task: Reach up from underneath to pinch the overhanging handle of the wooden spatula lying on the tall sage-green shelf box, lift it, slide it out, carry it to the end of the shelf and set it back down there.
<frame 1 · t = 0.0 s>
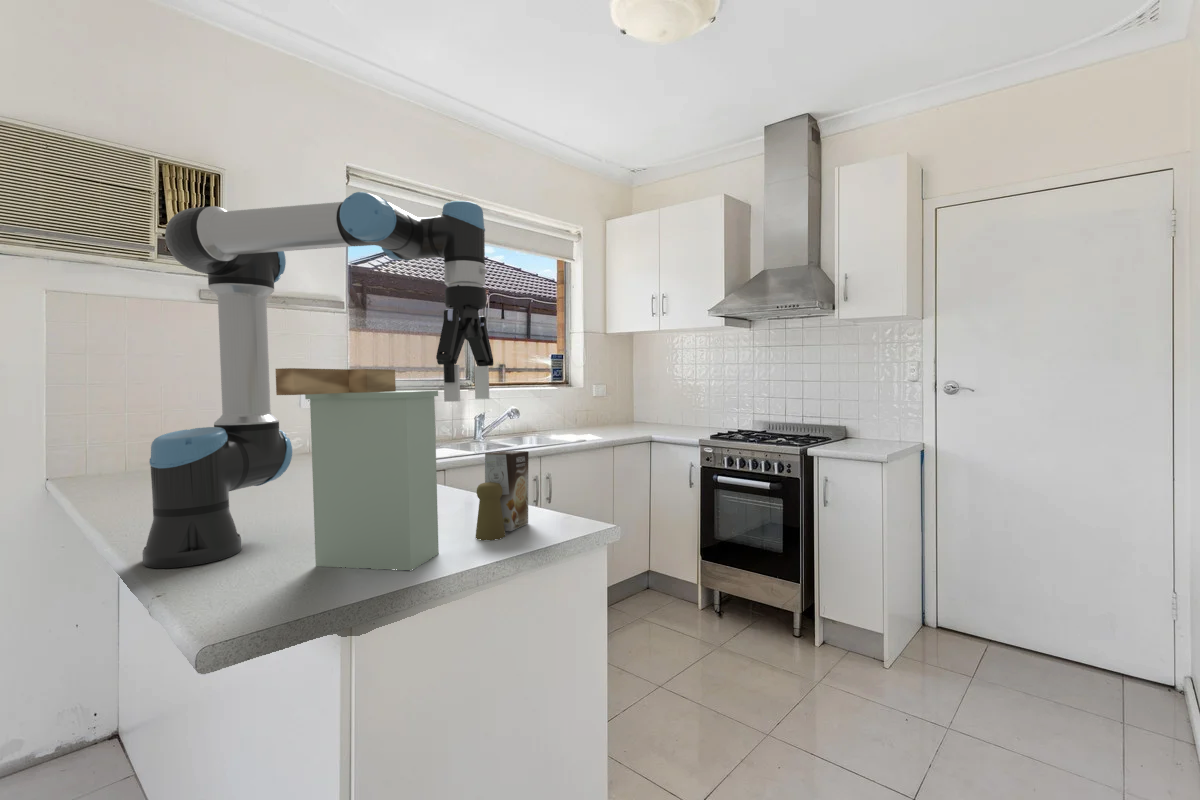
hand: (468, 400, 112), 28 cm above the countertop, tool pointing down, fingers open, 13 cm apart
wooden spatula: (335, 392, 101), point 30 cm above the countertop, touching sage green shelf box
cork: (490, 537, 121), on the countertop, touching coffee box
coffee box: (507, 527, 127), on the countertop, touching cork
sage green shelf box: (379, 559, 106), on the countertop
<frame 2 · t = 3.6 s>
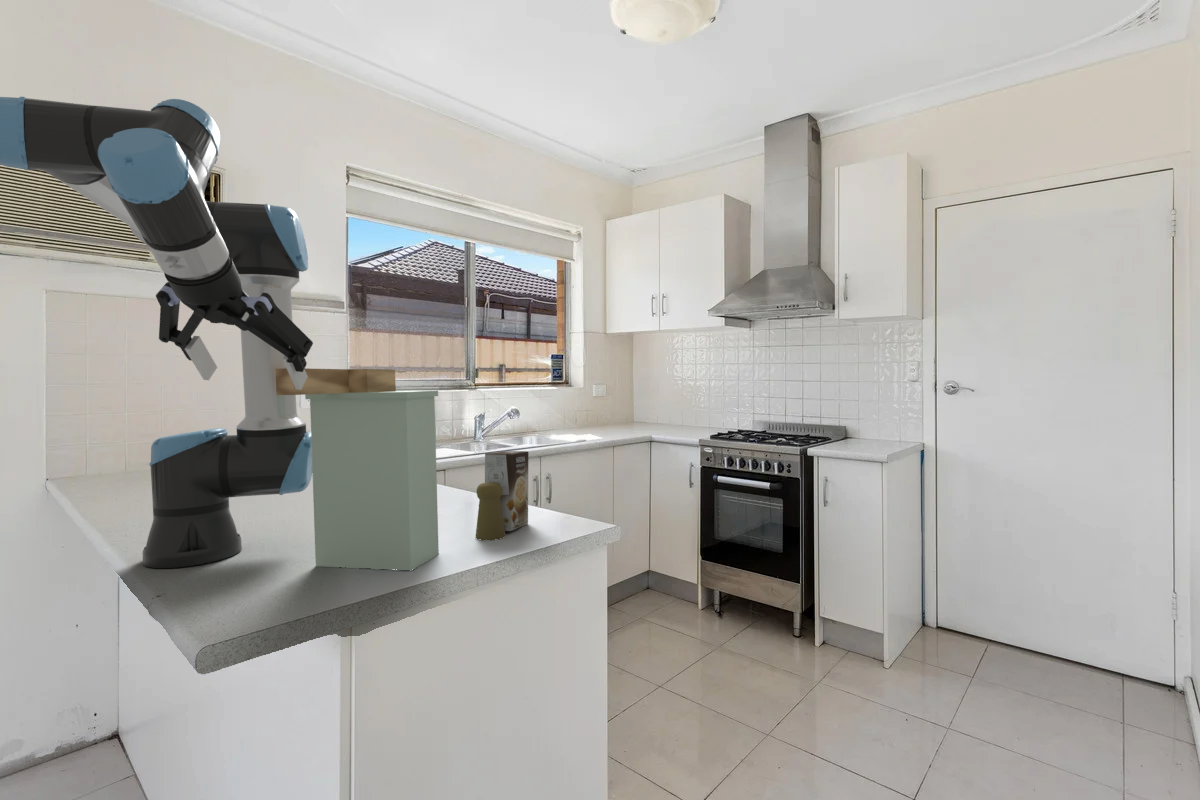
hand: (256, 378, 90), 33 cm above the countertop, tool tilted 50°, fingers open, 13 cm apart
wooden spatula: (335, 392, 101), point 30 cm above the countertop, touching gripper
everything else where it was.
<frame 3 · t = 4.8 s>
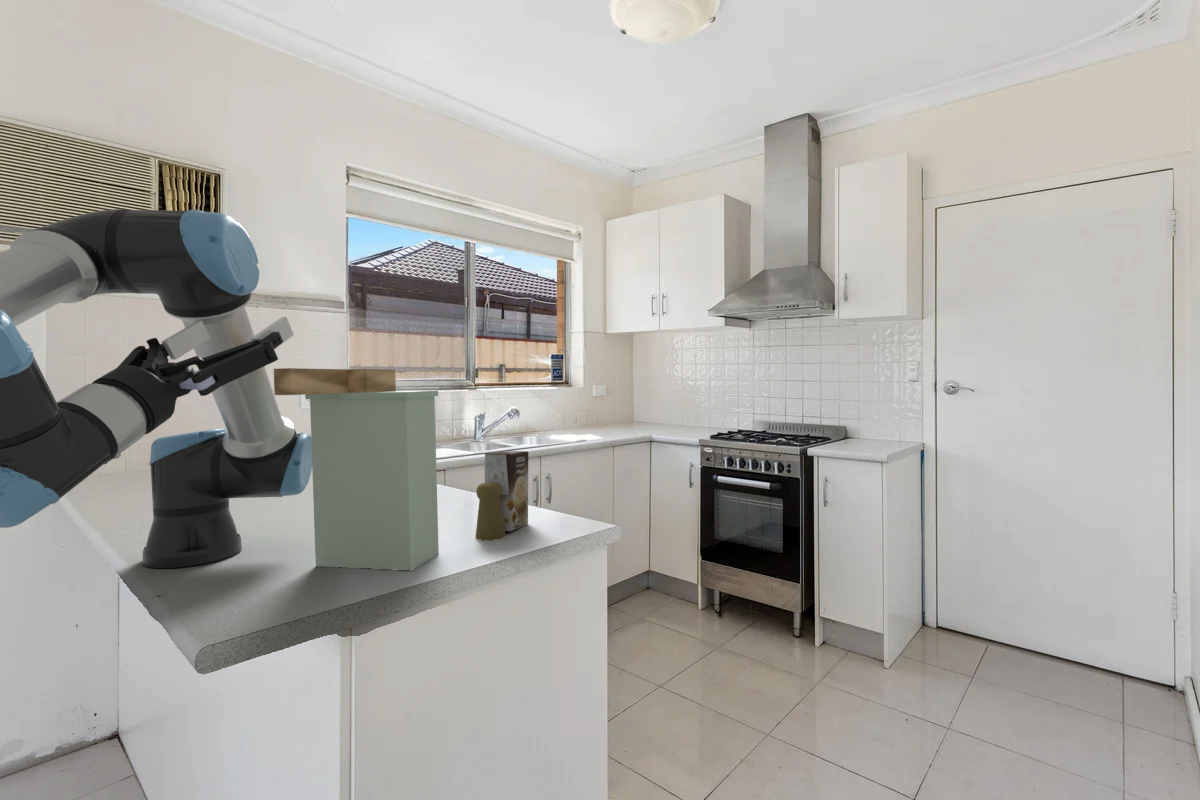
hand: (245, 327, 83), 40 cm above the countertop, tool pointing upward, fingers open, 13 cm apart
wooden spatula: (335, 392, 101), point 30 cm above the countertop, touching sage green shelf box
everything else where it was.
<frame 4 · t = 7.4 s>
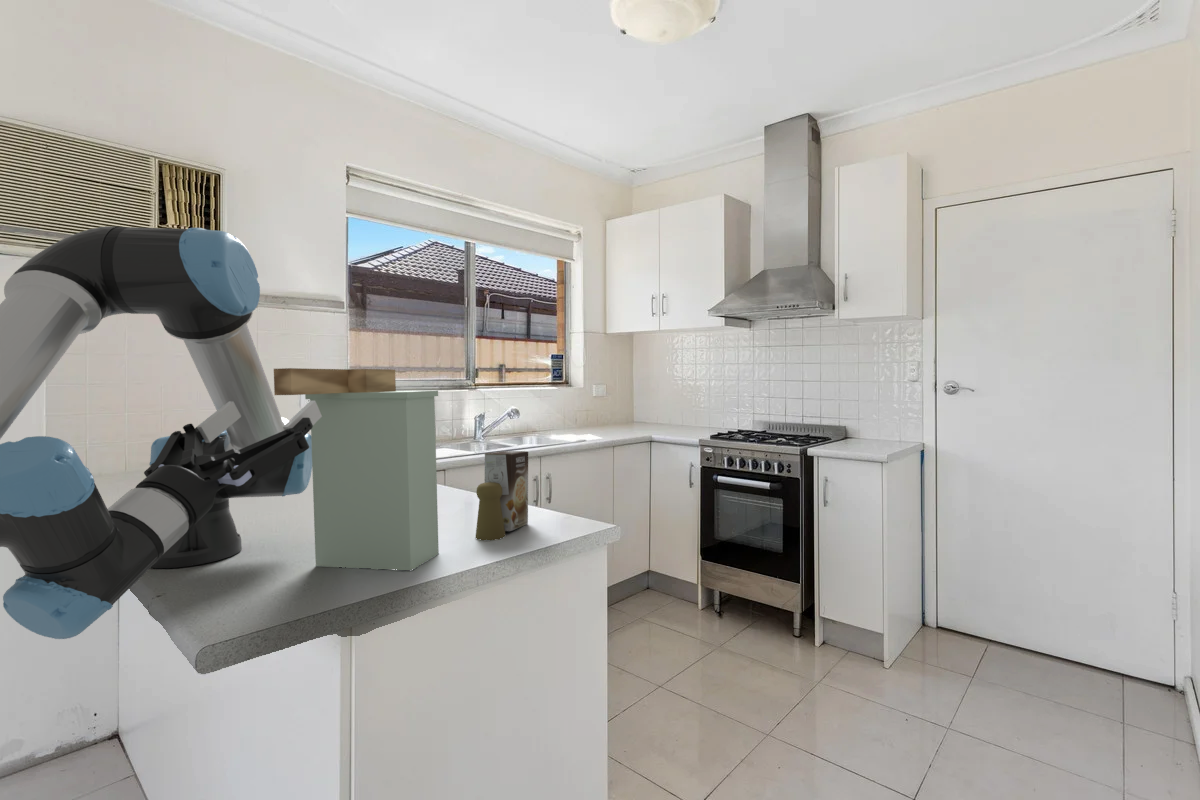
hand: (275, 408, 86), 28 cm above the countertop, tool pointing upward, fingers open, 13 cm apart
nothing on the countertop moved.
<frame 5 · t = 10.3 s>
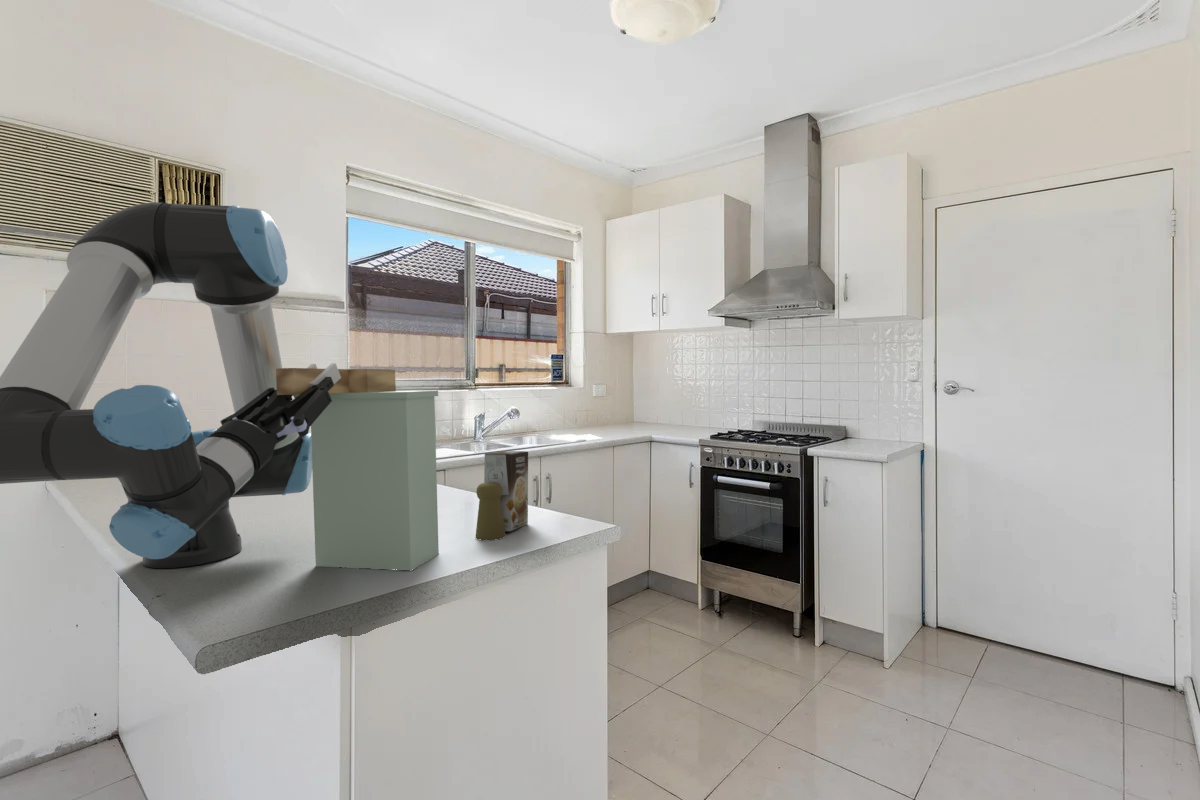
hand: (326, 370, 98), 34 cm above the countertop, tool pointing upward, fingers closed on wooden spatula, 3 cm apart
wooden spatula: (335, 392, 101), point 30 cm above the countertop, touching gripper, sage green shelf box
everything else where it was.
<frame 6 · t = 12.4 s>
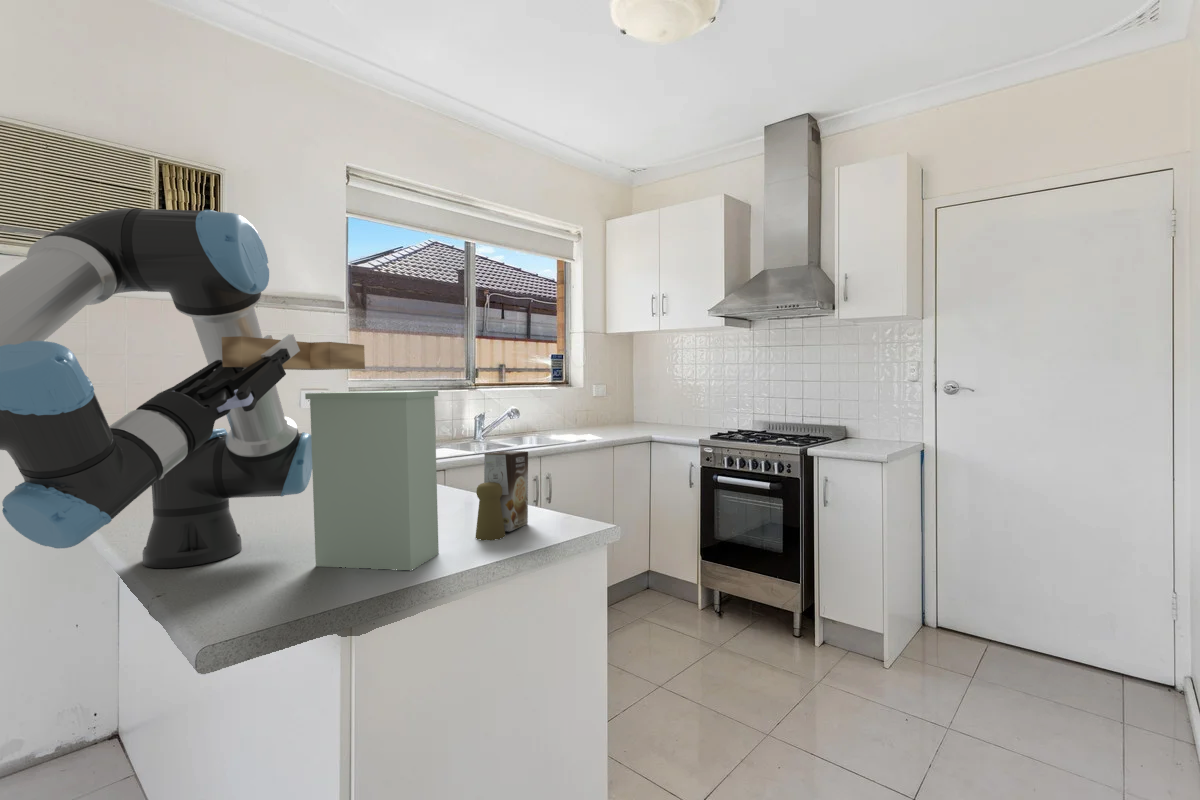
hand: (283, 343, 89), 38 cm above the countertop, tool pointing upward, fingers closed on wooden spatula, 3 cm apart
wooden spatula: (295, 368, 91), point 34 cm above the countertop, touching gripper
everything else where it was.
when the fingers open (35 cm above the countertop, at t = 14.9 s): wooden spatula drops 1 cm, resting on sage green shelf box.
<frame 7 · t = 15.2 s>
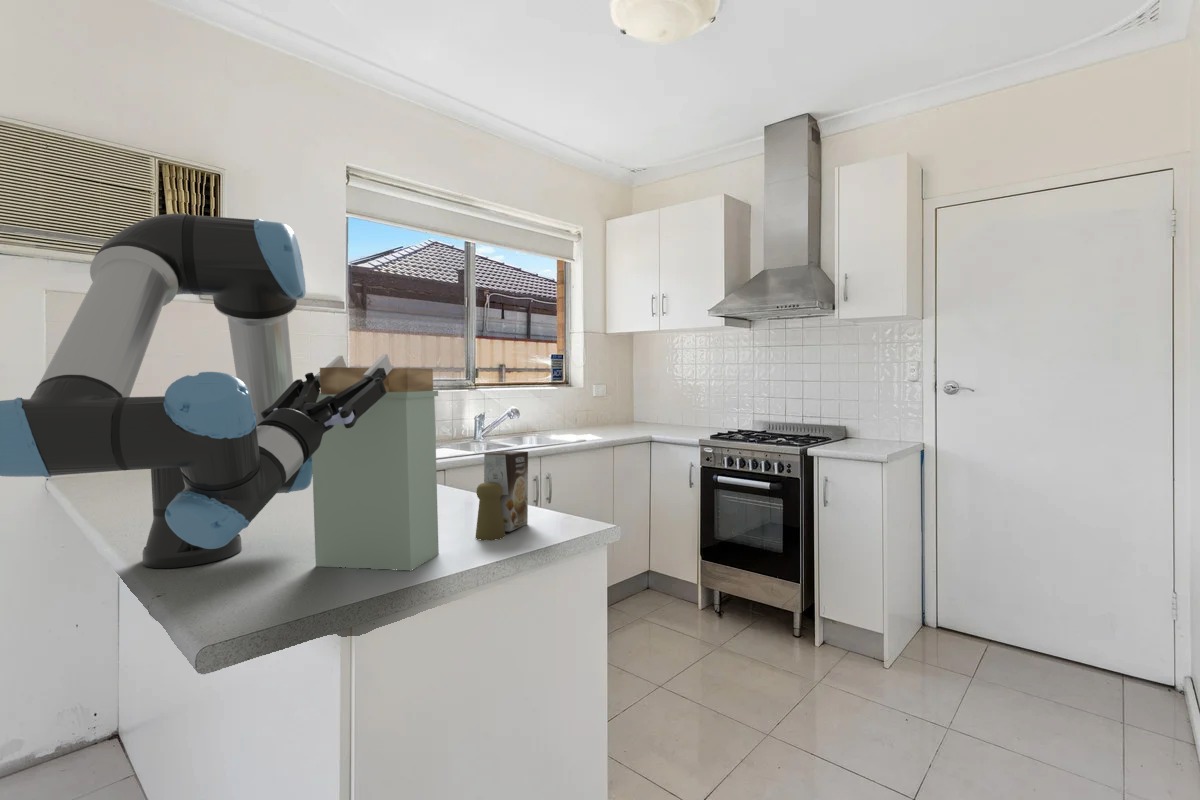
hand: (365, 362, 96), 35 cm above the countertop, tool pointing upward, fingers open, 7 cm apart
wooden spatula: (375, 392, 99), point 30 cm above the countertop, touching sage green shelf box
everything else where it was.
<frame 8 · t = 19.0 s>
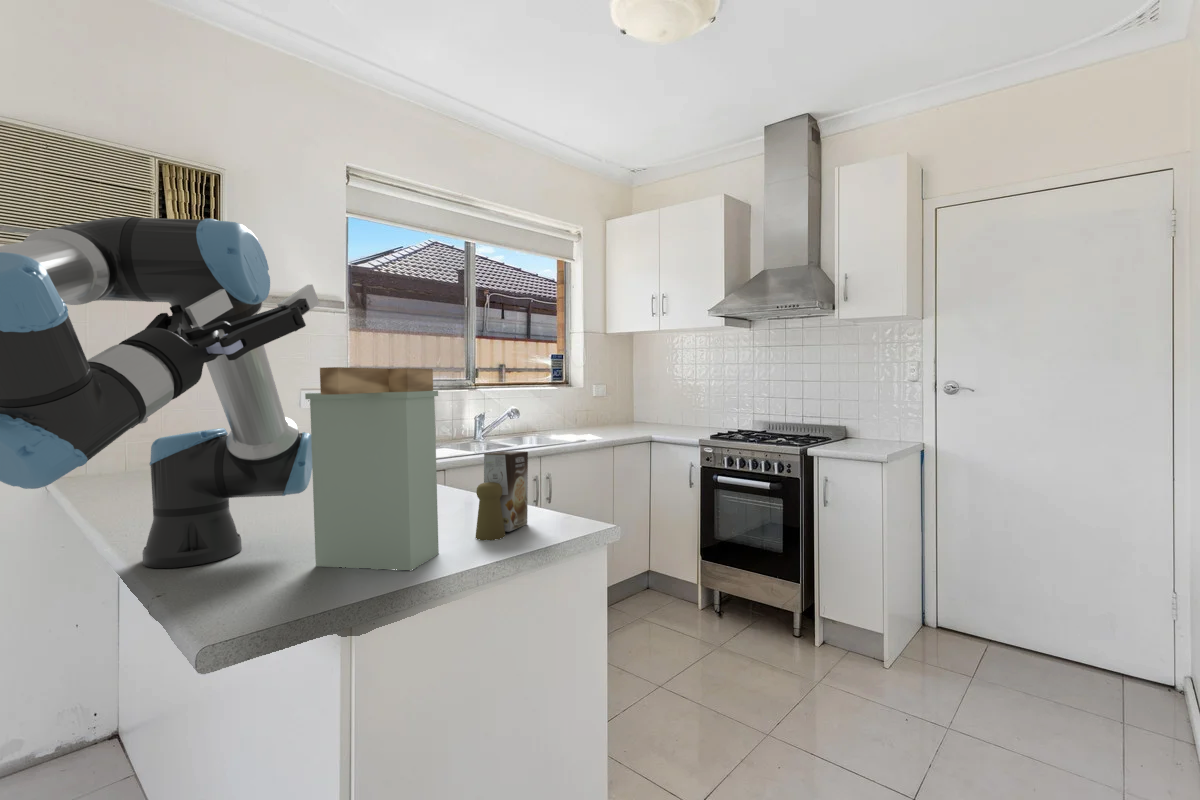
hand: (269, 296, 81), 44 cm above the countertop, tool pointing upward, fingers open, 13 cm apart
nothing on the countertop moved.
at the end: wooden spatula inside the target area (1.4 cm from its centre), point 30.0 cm above the countertop; the gripper is holding nothing; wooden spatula moved 7.5 cm from its start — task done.
